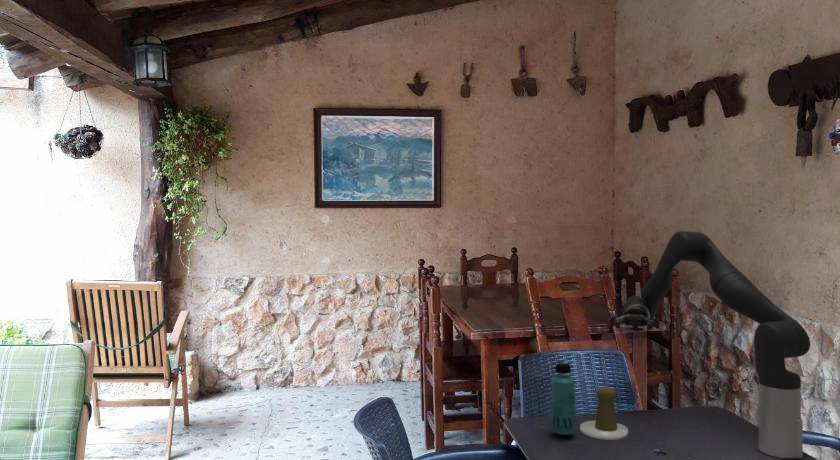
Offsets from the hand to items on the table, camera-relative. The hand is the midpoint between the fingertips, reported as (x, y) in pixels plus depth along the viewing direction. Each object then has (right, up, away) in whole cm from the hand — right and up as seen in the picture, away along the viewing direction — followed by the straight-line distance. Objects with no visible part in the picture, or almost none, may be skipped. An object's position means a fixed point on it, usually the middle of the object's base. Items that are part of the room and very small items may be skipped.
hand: (633, 325), depth 180 cm
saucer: (-11, -28, -9) cm, 32 cm away
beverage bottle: (-23, -29, -11) cm, 39 cm away
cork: (-10, -27, -8) cm, 30 cm away
